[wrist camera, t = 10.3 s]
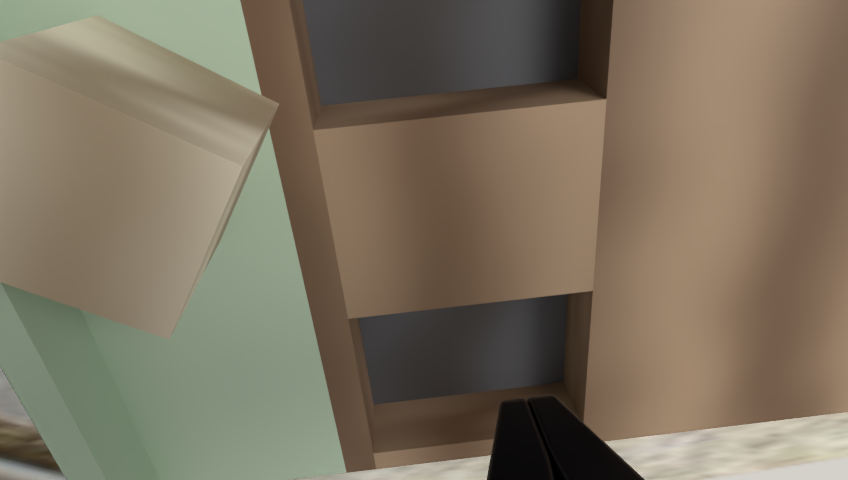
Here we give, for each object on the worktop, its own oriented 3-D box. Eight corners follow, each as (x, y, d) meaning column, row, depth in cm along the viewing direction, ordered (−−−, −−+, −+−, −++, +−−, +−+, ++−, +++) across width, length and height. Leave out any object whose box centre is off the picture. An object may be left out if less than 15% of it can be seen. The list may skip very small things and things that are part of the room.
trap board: (1144, -259, 13) (1302, -299, 11) (895, 351, 21) (954, 398, 19) (227, -174, 12) (196, -198, 10) (349, 416, 21) (346, 472, 19)
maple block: (279, 103, 13) (242, 166, 9) (219, 241, 14) (168, 339, 11) (97, 14, 12) (-23, 47, 8) (53, 174, 13) (-63, 260, 10)
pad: (227, -174, 12) (157, -225, 8) (349, 416, 21) (343, 527, 17) (-96, -144, 12) (-323, -183, 8) (162, 438, 21) (111, 556, 17)
